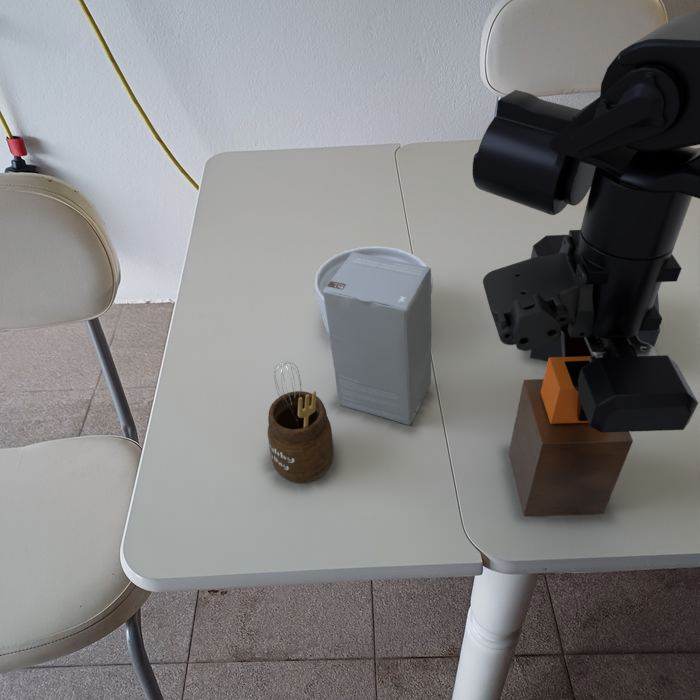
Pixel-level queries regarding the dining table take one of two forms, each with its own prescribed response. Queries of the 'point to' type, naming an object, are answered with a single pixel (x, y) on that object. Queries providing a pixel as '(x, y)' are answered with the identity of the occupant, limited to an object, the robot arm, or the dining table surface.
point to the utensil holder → (299, 435)
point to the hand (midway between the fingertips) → (577, 401)
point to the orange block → (560, 391)
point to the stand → (562, 460)
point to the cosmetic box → (380, 335)
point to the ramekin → (337, 261)
